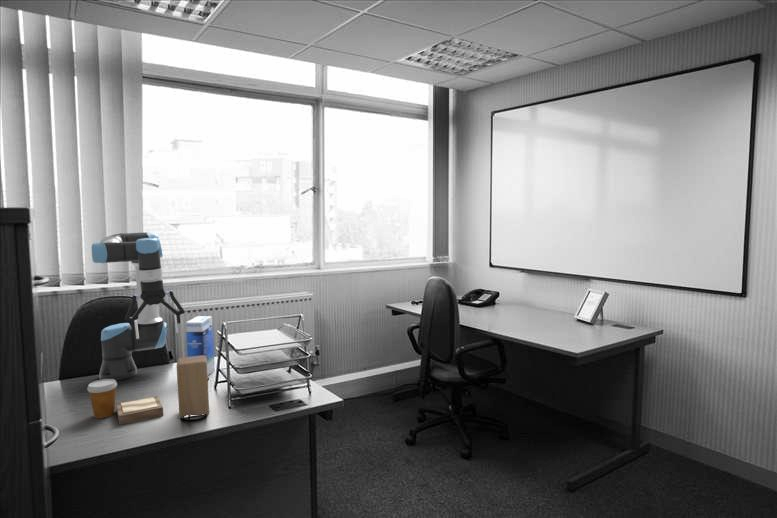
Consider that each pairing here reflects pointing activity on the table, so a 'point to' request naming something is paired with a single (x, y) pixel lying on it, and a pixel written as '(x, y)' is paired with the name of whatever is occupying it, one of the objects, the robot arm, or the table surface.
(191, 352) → the string lights box
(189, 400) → the block
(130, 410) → the walnut base
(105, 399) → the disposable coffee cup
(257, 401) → the table surface
